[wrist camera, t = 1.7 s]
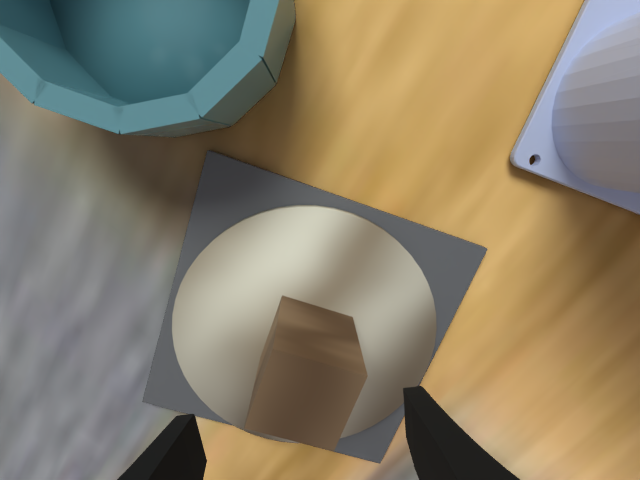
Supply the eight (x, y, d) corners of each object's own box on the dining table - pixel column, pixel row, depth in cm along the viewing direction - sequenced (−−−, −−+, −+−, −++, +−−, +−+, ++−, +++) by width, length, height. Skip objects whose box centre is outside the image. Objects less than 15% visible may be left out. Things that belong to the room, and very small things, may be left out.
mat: (483, 246, 17) (487, 248, 17) (378, 457, 20) (379, 463, 20) (210, 150, 15) (207, 150, 15) (145, 396, 19) (142, 401, 18)
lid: (473, 254, 17) (544, 301, 12) (375, 454, 20) (397, 558, 15) (215, 165, 15) (169, 175, 10) (153, 397, 18) (95, 491, 13)
